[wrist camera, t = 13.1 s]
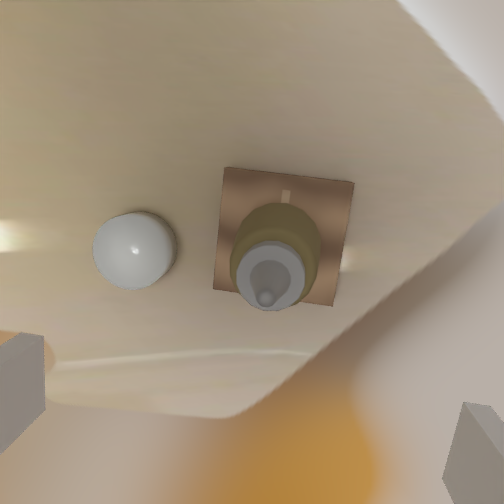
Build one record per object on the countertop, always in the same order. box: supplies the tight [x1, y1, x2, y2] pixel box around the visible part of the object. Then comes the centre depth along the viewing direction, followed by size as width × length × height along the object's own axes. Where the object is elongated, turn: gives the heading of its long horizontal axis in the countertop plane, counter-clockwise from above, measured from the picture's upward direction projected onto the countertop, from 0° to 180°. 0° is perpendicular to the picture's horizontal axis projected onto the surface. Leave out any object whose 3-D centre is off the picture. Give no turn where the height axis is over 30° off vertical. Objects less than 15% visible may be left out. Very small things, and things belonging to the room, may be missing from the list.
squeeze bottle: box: [230, 203, 321, 311], centre depth 30 cm, size 8×8×18 cm
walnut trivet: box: [213, 167, 355, 306], centre depth 40 cm, size 13×13×3 cm
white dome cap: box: [93, 212, 177, 290], centre depth 42 cm, size 8×8×4 cm
